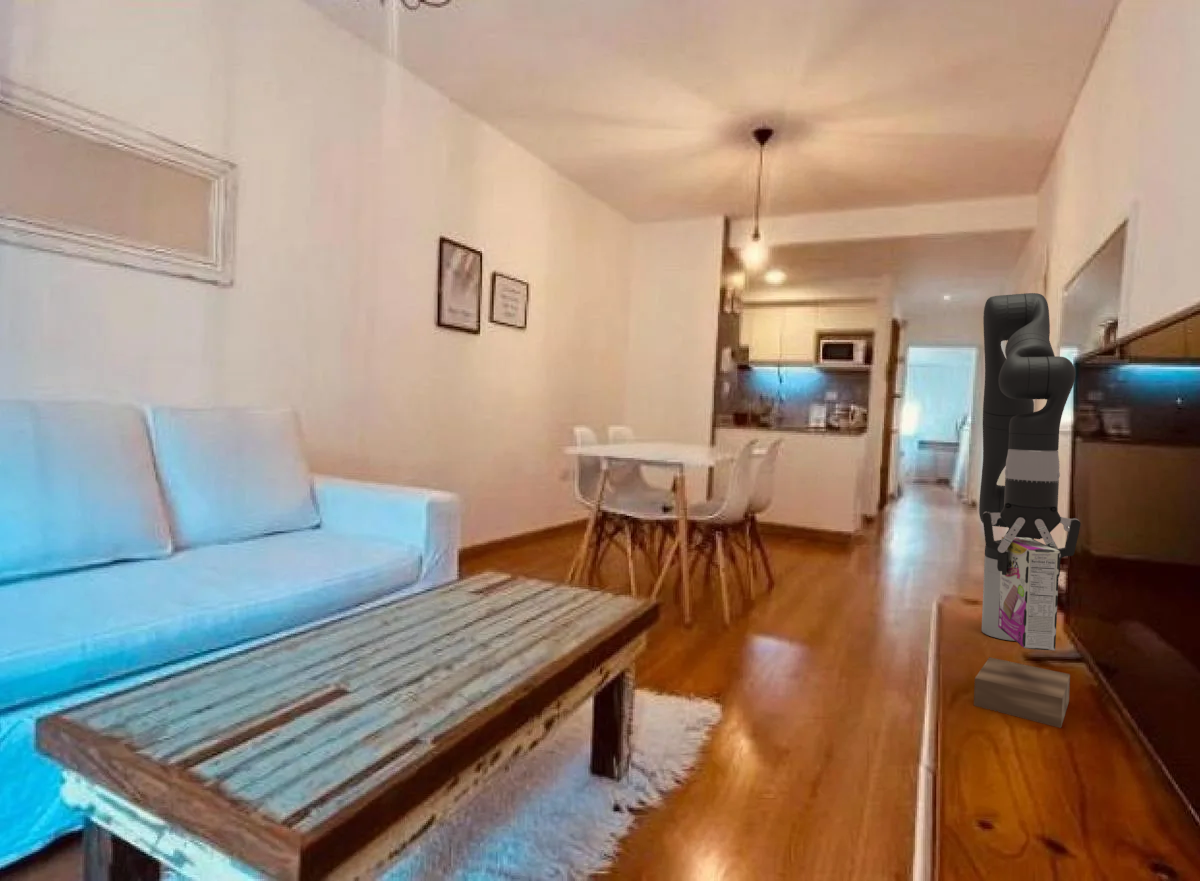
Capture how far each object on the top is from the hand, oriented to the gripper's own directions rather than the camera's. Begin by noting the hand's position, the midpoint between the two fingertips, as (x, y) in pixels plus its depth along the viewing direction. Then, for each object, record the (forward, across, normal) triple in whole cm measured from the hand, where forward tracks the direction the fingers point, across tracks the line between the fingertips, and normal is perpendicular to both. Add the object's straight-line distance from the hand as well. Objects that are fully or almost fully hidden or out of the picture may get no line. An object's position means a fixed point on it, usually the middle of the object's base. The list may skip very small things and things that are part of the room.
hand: (1027, 576), depth 112 cm
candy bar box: (+11, 0, 0) cm, 11 cm away
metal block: (+22, 0, 0) cm, 22 cm away
